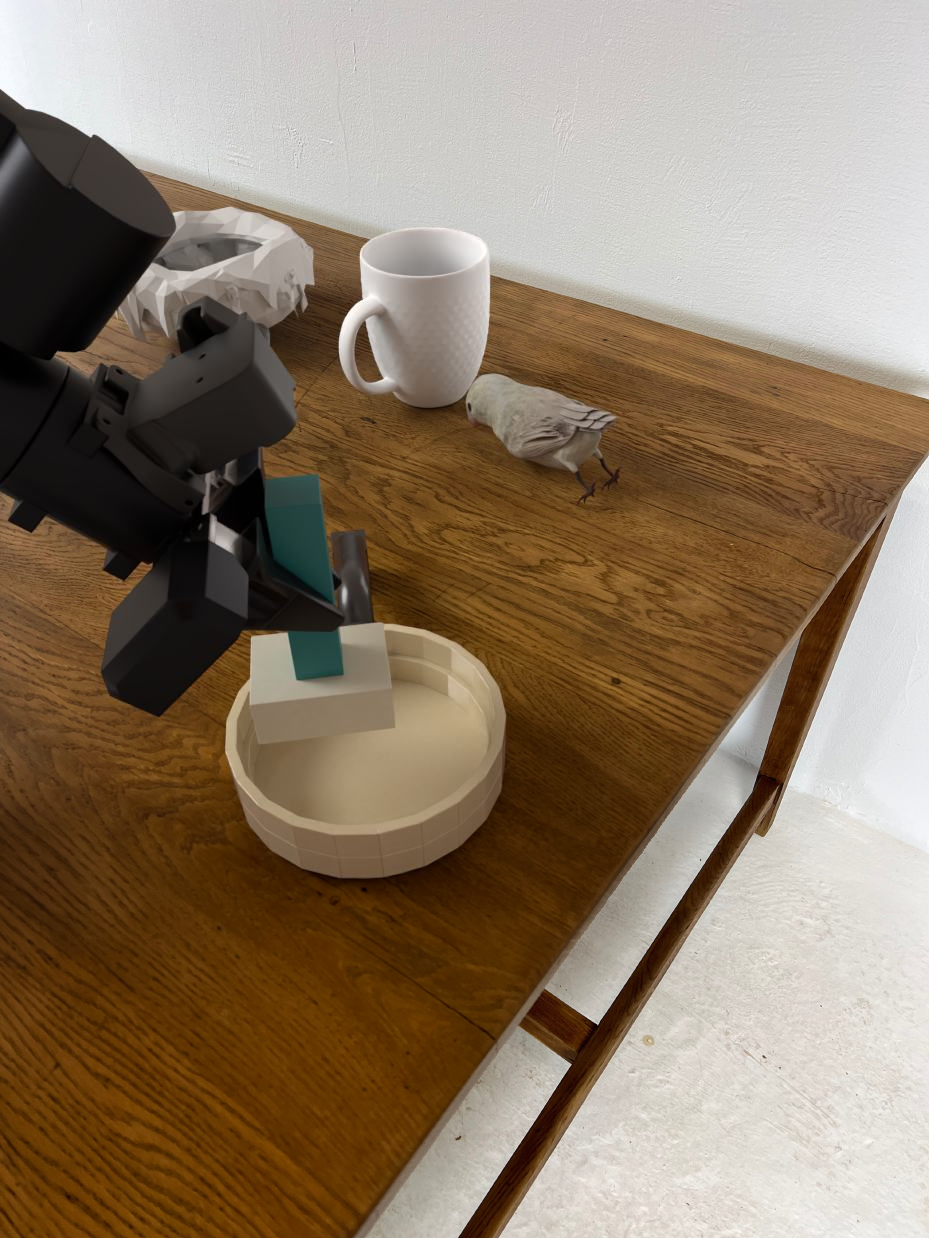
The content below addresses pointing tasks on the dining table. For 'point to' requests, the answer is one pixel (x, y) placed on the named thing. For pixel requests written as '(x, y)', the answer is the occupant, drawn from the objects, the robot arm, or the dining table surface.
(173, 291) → the bowl
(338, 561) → the pan handle
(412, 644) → the pan
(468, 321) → the mug
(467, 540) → the dining table surface
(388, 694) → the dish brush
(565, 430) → the decorative bird
